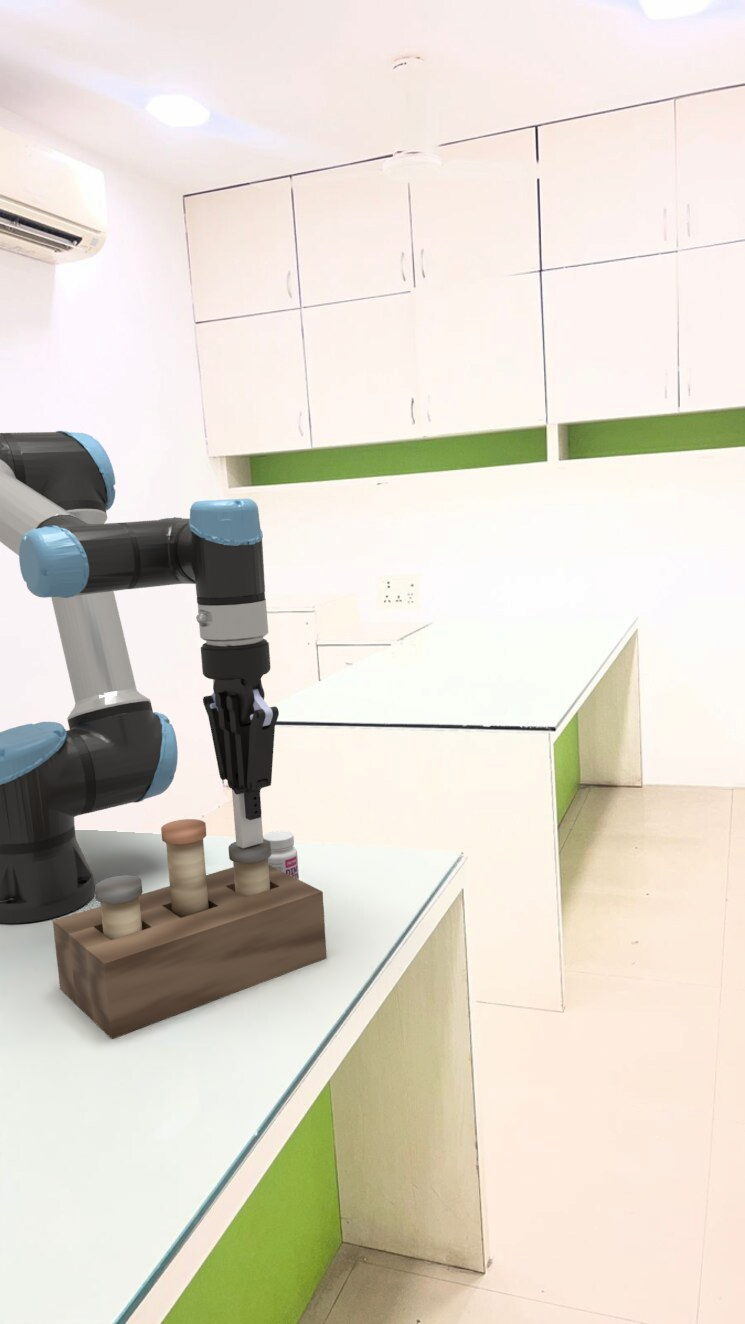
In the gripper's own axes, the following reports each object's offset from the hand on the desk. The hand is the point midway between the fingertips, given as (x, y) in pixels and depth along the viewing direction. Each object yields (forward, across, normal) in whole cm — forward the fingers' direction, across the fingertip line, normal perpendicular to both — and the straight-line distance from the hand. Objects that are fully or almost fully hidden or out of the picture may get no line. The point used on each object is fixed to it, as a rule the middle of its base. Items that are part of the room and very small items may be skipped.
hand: (249, 843), depth 119 cm
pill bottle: (+13, -12, +11) cm, 21 cm away
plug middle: (+8, 0, -8) cm, 11 cm away
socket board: (+13, 0, -8) cm, 15 cm away
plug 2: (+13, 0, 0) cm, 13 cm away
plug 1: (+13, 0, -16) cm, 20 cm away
